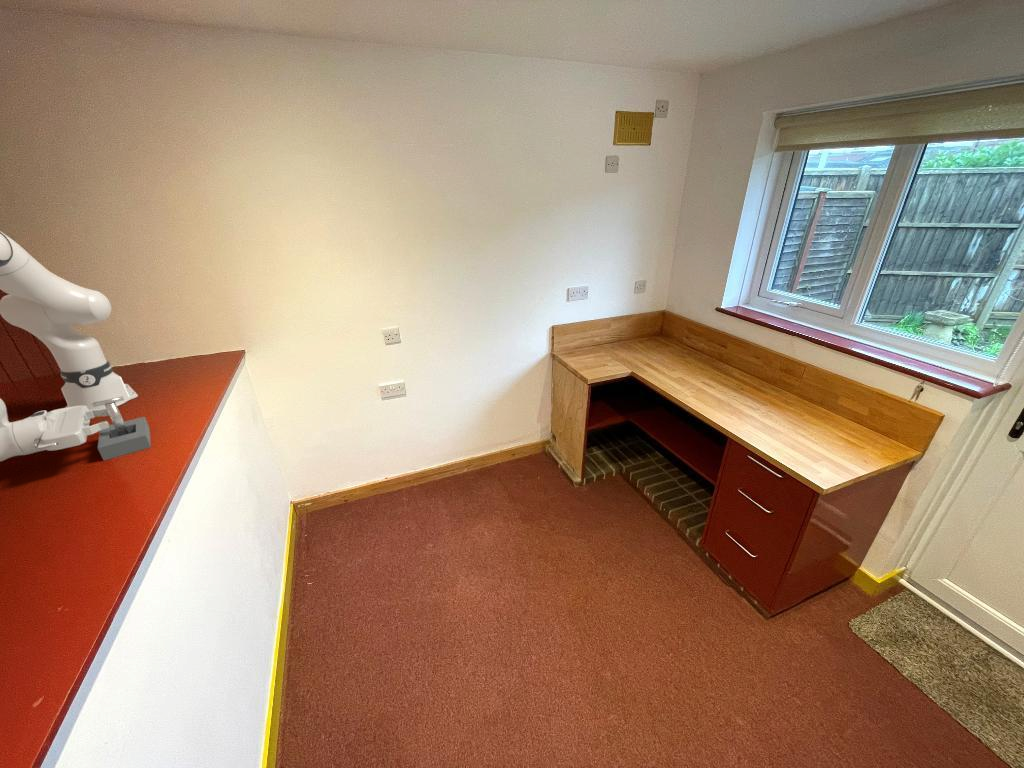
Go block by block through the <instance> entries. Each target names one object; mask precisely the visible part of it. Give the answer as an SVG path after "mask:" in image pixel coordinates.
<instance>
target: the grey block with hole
mask: <svg viewBox="0 0 1024 768" xmlns="http://www.w3.org/2000/svg"><path fill="white" fill-rule="evenodd" d="M124 423H125V425H126V428H127V430H128V432H129V434H126V435H122V436H119V435H118V433H117V431H116V429H115V426H114V424H113V423H112V424H109V428H107V429H103V430H100V431H99V435H98V442H97V450H98V452H99V455H100V456H101V458H102V460H103V461H107V460H110V459H114V458H118V457H121V456H125V455H129V454H132V453H133V454H134V453H136V452H139V451H143V450H146V449H151V447H152V443H151V431H150V426H149V424H148V421H147V418H146V417H145V416H141V417H137V418H132V419H129V420H125V421H124Z"/></svg>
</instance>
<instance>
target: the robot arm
mask: <svg viewBox="0 0 1024 768" xmlns="http://www.w3.org/2000/svg"><path fill="white" fill-rule="evenodd" d="M0 290H1V291H2V292H3V293H5V294H7V295H4V296H2V297H1V299H0V316H1V317H2V318H3V319H4V321H6V322H7V323H9V325H12V326H14V327H17V328H20V329H23V330H24V331H27V332H28V333H30V334H31V335H32V336H35V338H37V339H38V340H39V341H41V343H43V344H44V345H45V346H46V348H47V349H48V350H49V351H50V353H51V354H52V356H53V358H54V360H55V361H56V363H57V365H58V368H59V369H60V370H59V373H60V377H61V378H62V380H63V381H64V382H65V383H64V385H62V387H61V388H60V389H61V392H62V394H63V397H64V399H65V401H66V404H67V405H66V406H65V407H61V408H57V409H53V410H50V411H47V410H39V411H36V412H34V413H33V414H32V415H30V416H28V417H26V418H23V419H19V420H16V421H12V422H10V421H9V413H8V409H7V406H6V403H5V401H4V400H3V399H2V398H1V397H0V462H3V461H5V460H8V459H10V458H13V457H18V456H26V455H31V454H34V453H35V454H36V453H39V452H43V451H49V452H50V451H51V452H52V451H58V450H64V449H68V448H69V449H70V448H73V447H76V446H77V447H78V446H81V445H83V444H85V443H86V442H87V439H88V436H91V435H95V434H96V433H98V432H100V430H103V429H107V428H109V425H110V423H109V421H108V420H103V421H102V420H101V421H98V423H95V424H92V425H90V422H91V419H94V418H96V417H102V418H103V417H107V416H109V413H108V411H107V409H106V407H105V405H101V406H96V407H92V406H91V404H92V403H94V402H98V401H103V400H107V399H112V398H117V397H121V396H123V398H124V400H123V401H119V402H115V403H116V405H117V407H119V406H121V405H123V404H125V403H127V402H128V401H130V400H133V399H135V398H137V397H139V395H138V393H137V392H136V391H135V390H134V389H133V388H132V387H131V386H130V385H129V383H124V381H123V379H122V376H120V375H119V374H117V373H116V372H114V369H113V368H112V365H111V363H110V361H109V360H107V359H106V356H105V354H104V352H103V351H104V350H103V349H102V347H101V345H100V343H99V341H98V340H97V339H96V338H94V337H93V336H91V335H88V334H85V333H82V332H80V331H78V330H76V329H75V328H74V327H73V326H81V325H92V324H95V323H99V322H104V321H106V320H108V319H109V317H110V316H111V314H112V308H113V307H112V304H111V301H110V300H109V298H108V297H107V296H106V295H104V293H103V292H101V291H98V290H94V289H90V288H87V287H85V286H84V287H83V286H81V285H78V284H76V283H73V282H71V281H69V280H67V279H64V278H63V277H60V276H58V275H56V274H55V273H53V272H51V271H50V270H49V269H47V268H46V267H45V266H44V265H43V264H42V263H40V262H39V261H38V260H37V259H35V257H33V256H32V255H31V254H30V253H29V252H28V251H27V250H25V249H24V247H22V246H21V245H20V244H19V243H18V242H16V241H15V240H14V239H12V238H11V237H10V236H8V235H7V234H5V233H4V232H2V231H1V230H0Z"/></svg>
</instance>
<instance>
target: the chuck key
mask: <svg viewBox="0 0 1024 768" xmlns="http://www.w3.org/2000/svg"><path fill="white" fill-rule="evenodd" d="M123 400H124V398H123V396H121V397H117V398H112V399H107V400H103V401H98V402H94V403H92V404H91V406H92V407H96V406H101V405H105V407H106V409H107V411H108V413H109V415H108V416H109V418H110V419H111V422H112V424H114V426H115V429H116V431H117V433H118V435H119V436H122V435H126V434H129V432H128V430H127V428H126V425H125V423H124V422H125V421H124V419H123V417H122V414H121V412H120V410H119V408H118V407H119V406H117V405H116V403H115V402H119V401H123Z"/></svg>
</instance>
